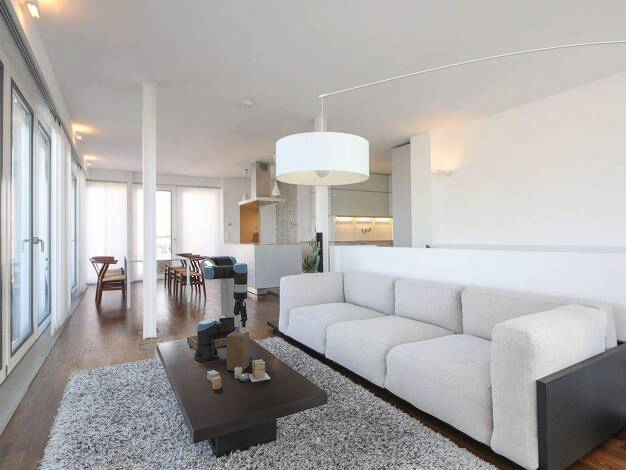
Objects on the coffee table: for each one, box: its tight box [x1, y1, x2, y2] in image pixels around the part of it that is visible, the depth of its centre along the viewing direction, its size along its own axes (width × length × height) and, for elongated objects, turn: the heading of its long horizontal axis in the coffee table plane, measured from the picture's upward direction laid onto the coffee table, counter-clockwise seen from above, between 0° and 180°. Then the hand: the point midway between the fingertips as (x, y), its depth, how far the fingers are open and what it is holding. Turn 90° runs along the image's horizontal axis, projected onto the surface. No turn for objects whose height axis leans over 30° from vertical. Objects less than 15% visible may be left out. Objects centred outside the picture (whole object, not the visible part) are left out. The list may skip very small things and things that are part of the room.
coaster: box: [249, 371, 271, 383], centre depth 196 cm, size 10×10×1 cm
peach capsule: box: [211, 375, 223, 391], centre depth 182 cm, size 4×4×5 cm
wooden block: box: [226, 331, 250, 372], centre depth 210 cm, size 10×10×20 cm
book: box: [186, 335, 227, 350], centre depth 261 cm, size 30×22×5 cm
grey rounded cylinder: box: [234, 367, 243, 380], centre depth 196 cm, size 4×4×5 cm
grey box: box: [206, 369, 220, 383], centre depth 193 cm, size 6×4×4 cm, turn 43°
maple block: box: [251, 358, 266, 379], centre depth 196 cm, size 6×6×8 cm
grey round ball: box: [238, 372, 250, 383], centre depth 192 cm, size 5×5×3 cm
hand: (240, 329), depth 200 cm, fingers open, 13 cm apart
